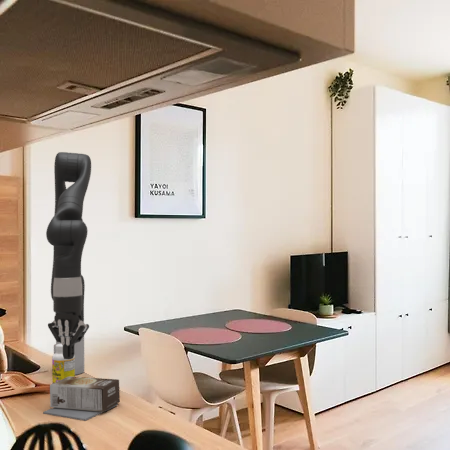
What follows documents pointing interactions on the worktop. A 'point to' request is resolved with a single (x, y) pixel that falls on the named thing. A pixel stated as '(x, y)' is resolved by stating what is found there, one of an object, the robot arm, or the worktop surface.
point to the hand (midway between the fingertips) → (68, 358)
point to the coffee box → (85, 393)
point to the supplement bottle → (62, 365)
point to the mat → (73, 413)
